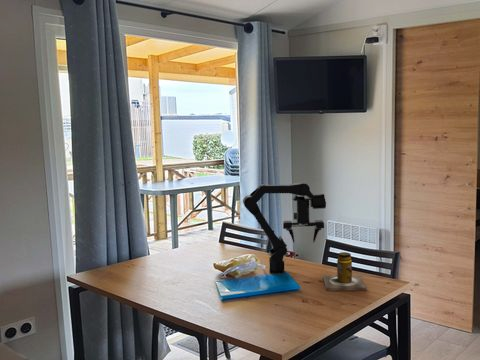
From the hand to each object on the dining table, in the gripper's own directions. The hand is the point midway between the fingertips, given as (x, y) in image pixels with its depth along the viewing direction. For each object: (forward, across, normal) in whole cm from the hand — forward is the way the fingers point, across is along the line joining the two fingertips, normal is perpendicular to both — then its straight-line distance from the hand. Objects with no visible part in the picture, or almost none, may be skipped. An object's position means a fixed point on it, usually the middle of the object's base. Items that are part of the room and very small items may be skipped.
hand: (303, 242), depth 223 cm
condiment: (+12, -15, +21) cm, 29 cm away
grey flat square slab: (+13, -16, +21) cm, 29 cm away
